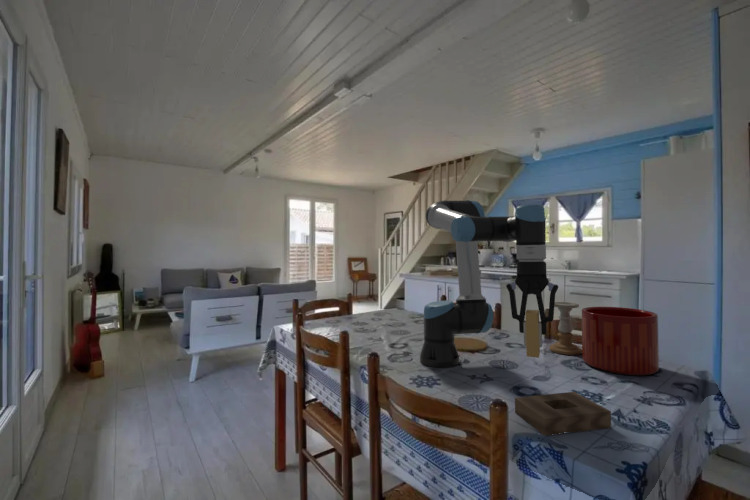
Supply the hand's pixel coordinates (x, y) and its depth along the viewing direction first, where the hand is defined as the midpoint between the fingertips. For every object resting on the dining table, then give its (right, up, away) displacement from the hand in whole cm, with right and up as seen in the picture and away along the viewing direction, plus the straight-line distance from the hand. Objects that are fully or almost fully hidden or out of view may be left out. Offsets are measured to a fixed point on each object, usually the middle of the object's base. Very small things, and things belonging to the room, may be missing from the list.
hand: (533, 345), depth 96 cm
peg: (0, -3, 0) cm, 3 cm away
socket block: (+4, -17, -8) cm, 19 cm away
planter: (+46, -17, +32) cm, 58 cm away
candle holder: (+37, -17, +51) cm, 66 cm away
